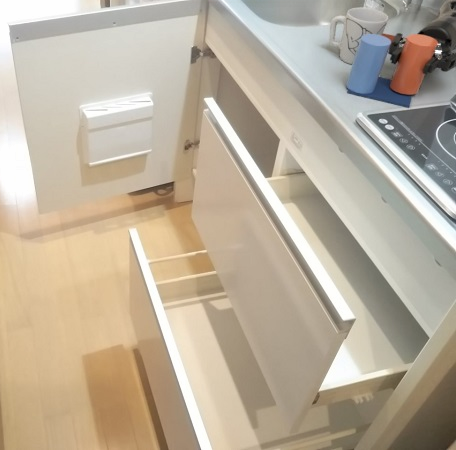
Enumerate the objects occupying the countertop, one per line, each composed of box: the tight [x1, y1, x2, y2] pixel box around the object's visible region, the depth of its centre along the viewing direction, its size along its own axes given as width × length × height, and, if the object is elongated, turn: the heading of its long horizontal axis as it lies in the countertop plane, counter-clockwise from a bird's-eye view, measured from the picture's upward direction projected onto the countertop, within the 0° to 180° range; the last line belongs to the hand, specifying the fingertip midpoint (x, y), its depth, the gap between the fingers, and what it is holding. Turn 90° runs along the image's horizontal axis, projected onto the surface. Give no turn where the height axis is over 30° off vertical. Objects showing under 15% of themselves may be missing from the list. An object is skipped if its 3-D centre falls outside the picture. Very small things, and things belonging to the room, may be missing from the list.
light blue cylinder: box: [345, 34, 391, 94], centre depth 102 cm, size 6×6×10 cm
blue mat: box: [346, 76, 413, 109], centre depth 106 cm, size 12×10×1 cm
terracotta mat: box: [382, 32, 407, 49], centre depth 125 cm, size 10×8×1 cm
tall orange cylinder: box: [390, 33, 438, 96], centre depth 102 cm, size 6×6×10 cm
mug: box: [328, 6, 389, 65], centre depth 114 cm, size 11×8×10 cm
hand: (410, 64), depth 100 cm, fingers closed on tall orange cylinder, 5 cm apart
